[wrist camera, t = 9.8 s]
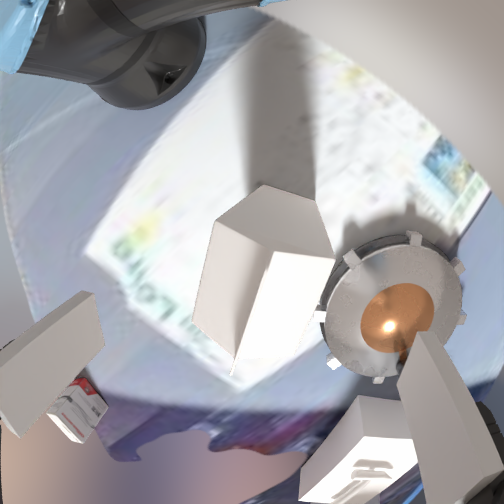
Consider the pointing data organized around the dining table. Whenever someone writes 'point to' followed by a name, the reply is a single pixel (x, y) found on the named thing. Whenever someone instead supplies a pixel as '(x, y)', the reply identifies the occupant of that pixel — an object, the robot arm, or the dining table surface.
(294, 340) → the milk
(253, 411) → the dining table surface
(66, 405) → the ink box
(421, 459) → the robot arm
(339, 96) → the dining table surface
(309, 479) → the tissue box
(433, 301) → the sprocket
